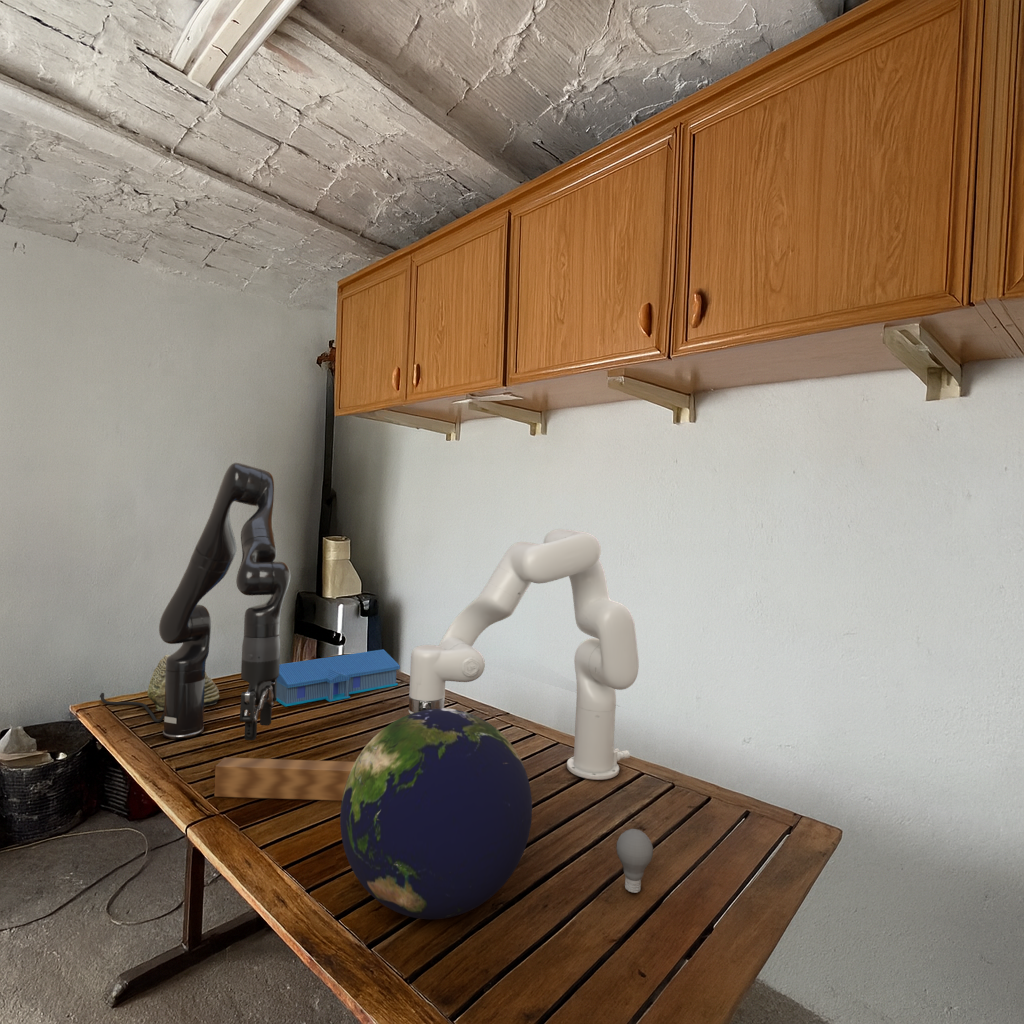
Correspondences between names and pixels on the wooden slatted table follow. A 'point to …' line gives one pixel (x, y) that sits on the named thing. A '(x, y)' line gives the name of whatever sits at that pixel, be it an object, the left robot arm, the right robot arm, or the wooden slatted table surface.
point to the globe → (436, 813)
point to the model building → (335, 677)
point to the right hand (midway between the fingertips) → (423, 785)
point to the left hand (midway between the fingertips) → (258, 731)
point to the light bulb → (634, 857)
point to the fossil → (158, 687)
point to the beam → (281, 778)
